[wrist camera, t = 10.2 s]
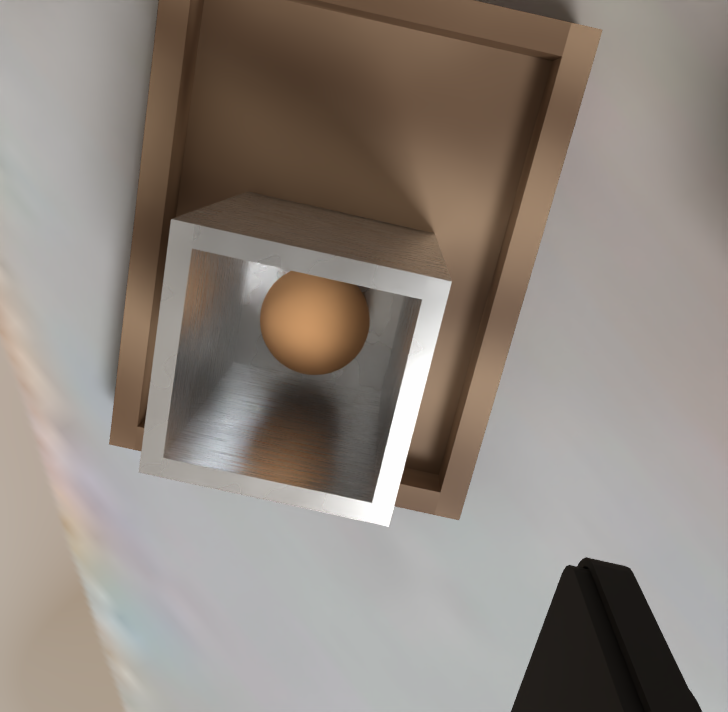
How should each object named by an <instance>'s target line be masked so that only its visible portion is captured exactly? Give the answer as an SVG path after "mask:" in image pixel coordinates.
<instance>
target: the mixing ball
mask: <svg viewBox="0 0 728 712" xmlns="http://www.w3.org/2000/svg"><path fill="white" fill-rule="evenodd" d="M369 326H370V316H369V309H368V305H367V302H366V299H365V297H364V295H363V293H362V292H361V290H360V289H359V287H358V286H357V285H354V284H350V283H345V282H341V281H336V280H332V279H327V278H323V277H318V276H314V275H309V274H305V273H300V272H296V271H290V272H288V273H286V274H285V275H283V276H282V277H281V278H279V279H278V280H277V281H276V282H275V283H274V284H273V285H272V287H271V288H270V289H269V291H268V293H267V294H266V296H265V298H264V301H263V303H262V307H261V313H260V327H261V333H262V336H263V339H264V342H265V344H266V346H267V348H268V349H269V351H270V352H271V354H272V355H273V356H274V357H275V358H276V359H277V360H278V361H279V362H280V363H281V364H283V365H284V366H286V367H287V368H289V369H291V370H293V371H296V372H299V373H302V374H308V375H322V374H328V373H332V372H334V371H337V370H339V369H341V368H343V367H344V366H346V365H347V364H349V363H350V362H351V361H352V360H353V359H354V358H355V357H356V356H357V355H358V354H359V352H360V351H361V349H362V348H363V346H364V343H365V341H366V339H367V336H368V332H369Z"/></svg>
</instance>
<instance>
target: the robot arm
mask: <svg viewBox="0 0 728 712" xmlns="http://www.w3.org/2000/svg"><path fill="white" fill-rule="evenodd" d="M511 712H702V711H701V708H700V706H699V704H698V702H697V700H696V699H695V697H694V696H693V694H692V693H691V691H690V690H689V689H688V686H687V684H686V682H685V680H684V678H683V676H682V674H681V672H680V670H679V668H678V666H677V664H676V661H675V659H674V657H673V655H672V653H671V651H670V649H669V647H668V645H667V643H666V641H665V638H664V636H663V634H662V632H661V630H660V628H659V626H658V624H657V622H656V620H655V618H654V615H653V613H652V611H651V609H650V607H649V605H648V603H647V601H646V599H645V597H644V595H643V592H642V590H641V588H640V586H639V584H638V582H637V580H636V578H635V576H634V574H633V572H632V571H631V569H630V568H628V567H626V566H622V565H618V564H613V563H609V562H604V561H600V560H595V559H591V558H584V559H582V560H581V561H580V563H579V564H578V566H577V567H576V566H571V565H568V566H566V568H565V569H564V571H563V573H562V575H561V578H560V580H559V583H558V586H557V588H556V591H555V594H554V597H553V599H552V602H551V605H550V607H549V610H548V613H547V616H546V618H545V621H544V624H543V626H542V629H541V632H540V634H539V637H538V640H537V643H536V645H535V648H534V651H533V653H532V656H531V659H530V662H529V664H528V667H527V670H526V672H525V675H524V678H523V680H522V683H521V686H520V689H519V691H518V694H517V697H516V699H515V702H514V705H513V708H512V710H511Z"/></svg>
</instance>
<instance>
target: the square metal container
mask: <svg viewBox="0 0 728 712" xmlns="http://www.w3.org/2000/svg"><path fill="white" fill-rule="evenodd" d="M290 271H296V272H300V273H305V274H309V275H314V276H318V277H323V278H327V279H332V280H336V281H341V282H345V283H350V284H354V285H357V286H358V287H359V289H360V290H361V292H362V293H363V295H364V297H365V299H366V302H367V305H368V309H369V316H370V326H369V332H368V336H367V339H366V341H365V343H364V346H363V348H362V349H361V351H360V352H359V354H358V355H357V356H356V357H355V358H354V359H353V360H352V361H351V362H350V363H349V364H347V365H346V366H344V367H343V368H341V369H339V370H337V371H334V372H332V373H328V374H322V375H308V374H302V373H299V372H296V371H293V370H291V369H289V368H287V367H286V366H284V365H283V364H281V363H280V362H279V361H278V360H277V359H276V358H275V357H274V356H273V355H272V354H271V352H270V351H269V349H268V348H267V346H266V344H265V342H264V339H263V336H262V333H261V327H260V313H261V307H262V303H263V301H264V298H265V296H266V294H267V293H268V291H269V289H270V288H271V287H272V285H273V284H274V283H275V282H276V281H277V280H278V279H279V278H281V277H282V276H283V275H285V274H286V273H288V272H290ZM451 283H452V280H451V277H450V275H449V272H448V269H447V266H446V263H445V261H444V258H443V255H442V252H441V249H440V247H439V244H438V241H437V238H436V235H435V233H432V232H427V231H423V230H418V229H414V228H409V227H405V226H400V225H396V224H391V223H387V222H382V221H378V220H373V219H369V218H364V217H360V216H356V215H351V214H347V213H342V212H338V211H333V210H329V209H324V208H320V207H315V206H311V205H306V204H302V203H297V202H293V201H288V200H284V199H280V198H275V197H271V196H266V195H262V194H257V193H253V192H245V193H243V194H240V195H237V196H234V197H231V198H229V199H226V200H223V201H220V202H217V203H215V204H212V205H209V206H206V207H203V208H201V209H198V210H195V211H192V212H189V213H187V214H184V215H181V216H178V217H175V218H173V219H171V224H170V232H169V240H168V247H167V255H166V263H165V271H164V279H163V287H162V294H161V302H160V310H159V318H158V326H157V334H156V341H155V349H154V357H153V365H152V373H151V380H150V388H149V396H148V404H147V412H146V420H145V427H144V435H143V443H142V451H141V459H140V467H139V473H144V474H148V475H153V476H158V477H162V478H167V479H171V480H176V481H181V482H185V483H190V484H195V485H199V486H204V487H208V488H213V489H218V490H222V491H227V492H232V493H236V494H241V495H245V496H250V497H255V498H259V499H264V500H269V501H273V502H278V503H282V504H287V505H292V506H296V507H301V508H305V509H310V510H315V511H319V512H324V513H329V514H333V515H338V516H342V517H347V518H352V519H356V520H361V521H366V522H370V523H375V524H379V525H384V526H389V524H390V520H391V516H392V512H393V508H394V504H395V500H396V497H397V493H398V489H399V485H400V481H401V477H402V473H403V469H404V466H405V462H406V458H407V454H408V450H409V446H410V442H411V438H412V434H413V431H414V427H415V423H416V419H417V415H418V411H419V407H420V403H421V400H422V396H423V392H424V388H425V384H426V380H427V376H428V372H429V369H430V365H431V361H432V357H433V353H434V349H435V345H436V341H437V337H438V334H439V330H440V326H441V322H442V318H443V314H444V310H445V306H446V303H447V299H448V295H449V291H450V287H451Z"/></svg>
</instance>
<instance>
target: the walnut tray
mask: <svg viewBox="0 0 728 712" xmlns="http://www.w3.org/2000/svg"><path fill="white" fill-rule="evenodd" d="M601 33H602V30H601V29H597V28H592V27H588V26H584V25H579V24H575V23H571V22H566V21H562V20H558V19H553V18H549V17H545V16H540V15H536V14H531V13H527V12H523V11H518V10H514V9H510V8H505V7H501V6H497V5H492V4H488V3H483V2H479V1H475V0H159V3H158V12H157V21H156V30H155V39H154V48H153V57H152V66H151V75H150V84H149V93H148V102H147V111H146V120H145V129H144V138H143V147H142V156H141V165H140V174H139V182H138V191H137V200H136V209H135V218H134V227H133V236H132V245H131V254H130V263H129V272H128V281H127V290H126V299H125V308H124V317H123V326H122V335H121V344H120V353H119V361H118V370H117V379H116V388H115V397H114V406H113V415H112V424H111V433H110V442H109V444H110V445H115V446H119V447H124V448H129V449H133V450H138V451H142V443H143V435H144V427H145V420H146V412H147V404H148V396H149V388H150V380H151V373H152V365H153V357H154V349H155V341H156V334H157V326H158V318H159V310H160V302H161V294H162V287H163V279H164V271H165V263H166V255H167V247H168V240H169V232H170V224H171V219H173V218H175V217H178V216H181V215H184V214H187V213H189V212H192V211H195V210H198V209H201V208H203V207H206V206H209V205H212V204H215V203H217V202H220V201H223V200H226V199H229V198H231V197H234V196H237V195H240V194H243V193H245V192H253V193H257V194H262V195H266V196H271V197H275V198H280V199H284V200H288V201H293V202H297V203H302V204H306V205H311V206H315V207H320V208H324V209H329V210H333V211H338V212H342V213H347V214H351V215H356V216H360V217H364V218H369V219H373V220H378V221H382V222H387V223H391V224H396V225H400V226H405V227H409V228H414V229H418V230H423V231H427V232H432V233H435V235H436V238H437V241H438V244H439V247H440V249H441V252H442V255H443V258H444V261H445V263H446V266H447V269H448V272H449V275H450V277H451V280H452V283H451V287H450V291H449V295H448V299H447V303H446V306H445V310H444V314H443V318H442V322H441V326H440V330H439V334H438V337H437V341H436V345H435V349H434V353H433V357H432V361H431V365H430V369H429V372H428V376H427V380H426V384H425V388H424V392H423V396H422V400H421V403H420V407H419V411H418V415H417V419H416V423H415V427H414V431H413V434H412V438H411V442H410V446H409V450H408V454H407V458H406V462H405V466H404V469H403V473H402V477H401V481H400V485H399V489H398V493H397V497H396V500H395V504H394V506H396V507H401V508H405V509H410V510H415V511H419V512H424V513H428V514H433V515H438V516H442V517H447V518H451V519H456V520H459V519H460V515H461V512H462V509H463V505H464V502H465V498H466V495H467V491H468V488H469V485H470V481H471V478H472V474H473V471H474V467H475V464H476V461H477V457H478V454H479V450H480V447H481V444H482V440H483V437H484V433H485V430H486V426H487V423H488V420H489V416H490V413H491V409H492V406H493V402H494V399H495V396H496V392H497V389H498V385H499V382H500V379H501V375H502V372H503V368H504V365H505V361H506V358H507V355H508V351H509V348H510V344H511V341H512V337H513V334H514V331H515V327H516V324H517V320H518V317H519V314H520V310H521V307H522V303H523V300H524V296H525V293H526V290H527V286H528V283H529V279H530V276H531V273H532V269H533V266H534V262H535V259H536V255H537V252H538V249H539V245H540V242H541V238H542V235H543V231H544V228H545V225H546V221H547V218H548V214H549V211H550V208H551V204H552V201H553V197H554V194H555V190H556V187H557V184H558V180H559V177H560V173H561V170H562V166H563V163H564V160H565V156H566V153H567V149H568V146H569V143H570V139H571V136H572V132H573V129H574V125H575V122H576V119H577V115H578V112H579V108H580V105H581V101H582V98H583V95H584V91H585V88H586V84H587V81H588V78H589V74H590V71H591V67H592V64H593V60H594V57H595V54H596V50H597V47H598V43H599V40H600V36H601Z"/></svg>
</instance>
